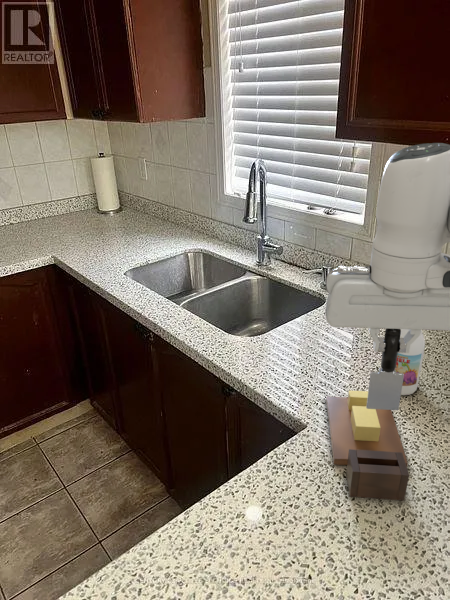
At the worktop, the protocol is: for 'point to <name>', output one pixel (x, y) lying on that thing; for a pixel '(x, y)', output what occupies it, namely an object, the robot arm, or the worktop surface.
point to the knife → (386, 376)
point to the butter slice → (357, 398)
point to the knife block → (377, 474)
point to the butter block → (365, 424)
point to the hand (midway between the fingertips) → (390, 350)
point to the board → (345, 439)
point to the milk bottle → (411, 364)
